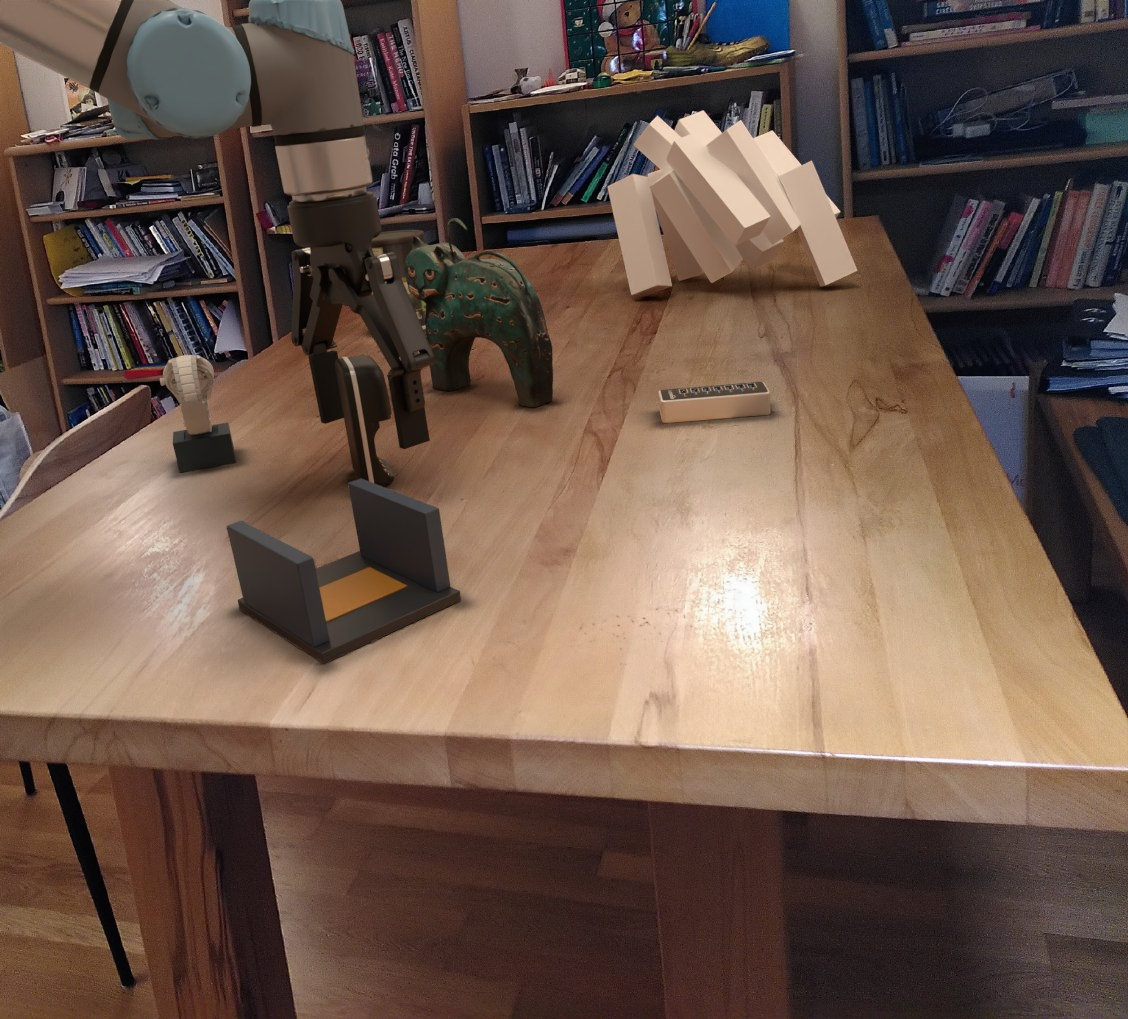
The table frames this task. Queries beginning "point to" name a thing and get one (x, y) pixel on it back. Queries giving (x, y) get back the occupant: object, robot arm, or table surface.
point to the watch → (197, 415)
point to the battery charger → (364, 414)
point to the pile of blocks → (721, 206)
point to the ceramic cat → (480, 316)
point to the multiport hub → (714, 402)
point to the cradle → (348, 576)
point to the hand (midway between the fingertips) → (373, 431)
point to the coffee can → (401, 259)
